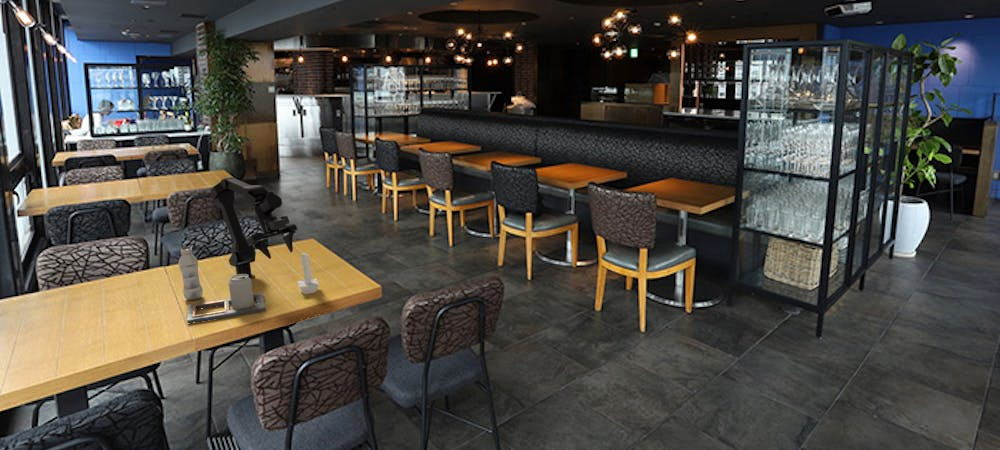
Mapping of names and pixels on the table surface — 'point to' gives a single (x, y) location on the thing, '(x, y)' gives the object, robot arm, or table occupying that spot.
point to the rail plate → (223, 314)
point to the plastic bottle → (190, 274)
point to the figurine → (307, 277)
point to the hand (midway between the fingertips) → (281, 255)
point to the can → (241, 291)
